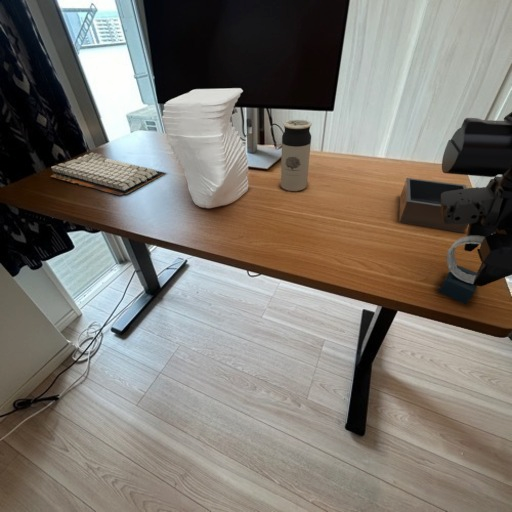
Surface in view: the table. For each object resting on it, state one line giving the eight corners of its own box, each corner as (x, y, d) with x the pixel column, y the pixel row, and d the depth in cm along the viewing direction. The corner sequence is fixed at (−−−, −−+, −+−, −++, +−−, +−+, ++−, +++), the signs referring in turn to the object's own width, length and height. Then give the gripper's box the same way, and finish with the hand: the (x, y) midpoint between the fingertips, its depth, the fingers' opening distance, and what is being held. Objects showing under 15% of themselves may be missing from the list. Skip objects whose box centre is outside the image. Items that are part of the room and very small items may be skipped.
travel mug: (287, 178, 87) (290, 118, 76) (310, 183, 84) (317, 121, 72) (276, 188, 82) (277, 125, 71) (299, 194, 79) (304, 128, 67)
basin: (455, 205, 71) (465, 185, 68) (463, 233, 62) (476, 211, 58) (399, 197, 76) (406, 177, 72) (399, 222, 66) (407, 201, 62)
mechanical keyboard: (166, 173, 94) (163, 164, 91) (123, 198, 81) (119, 187, 79) (93, 159, 107) (90, 150, 105) (47, 178, 95) (42, 168, 93)
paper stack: (259, 180, 87) (257, 88, 70) (226, 225, 67) (211, 112, 51) (201, 174, 92) (186, 86, 76) (155, 213, 73) (121, 108, 57)
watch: (479, 310, 45) (518, 261, 38) (427, 287, 50) (454, 239, 42) (485, 291, 48) (522, 242, 41) (436, 271, 53) (462, 224, 46)
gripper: (450, 149, 44) (416, 228, 54) (469, 202, 31) (421, 292, 41) (534, 156, 41) (482, 239, 51) (595, 219, 28) (509, 313, 38)
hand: (471, 266), depth 45 cm, fingers open, 9 cm apart
